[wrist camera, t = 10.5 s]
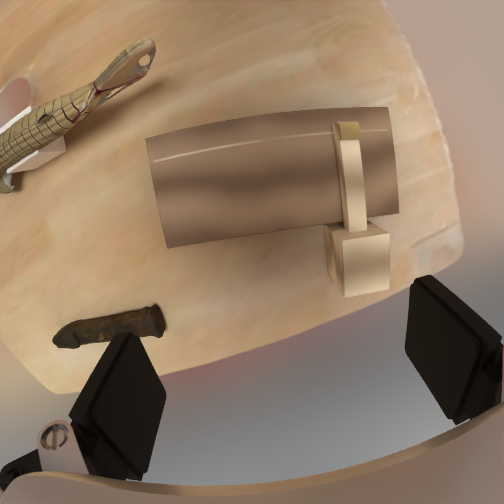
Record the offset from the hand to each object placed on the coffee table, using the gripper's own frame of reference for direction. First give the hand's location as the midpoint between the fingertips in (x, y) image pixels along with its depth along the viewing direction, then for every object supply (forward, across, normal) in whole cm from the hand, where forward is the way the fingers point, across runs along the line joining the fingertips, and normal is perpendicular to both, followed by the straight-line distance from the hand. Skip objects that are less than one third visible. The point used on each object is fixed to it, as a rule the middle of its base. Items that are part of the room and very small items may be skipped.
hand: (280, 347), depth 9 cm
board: (+25, -3, -3) cm, 25 cm away
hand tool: (+25, +24, +12) cm, 36 cm away
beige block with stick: (+25, -10, +1) cm, 26 cm away
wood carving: (+25, +23, -15) cm, 37 cm away
